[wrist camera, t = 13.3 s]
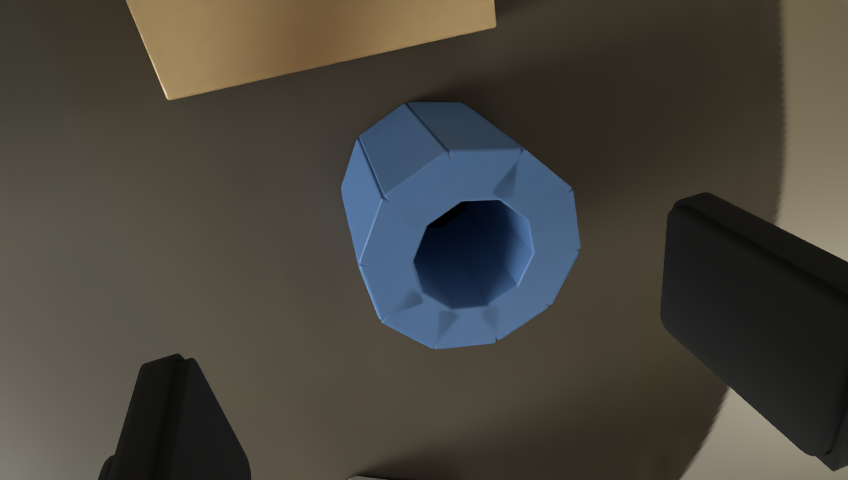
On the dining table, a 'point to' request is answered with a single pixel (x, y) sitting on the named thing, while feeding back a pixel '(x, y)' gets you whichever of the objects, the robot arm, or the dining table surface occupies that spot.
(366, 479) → the coffee box
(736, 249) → the robot arm
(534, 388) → the dining table surface
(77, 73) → the dining table surface
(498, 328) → the spool
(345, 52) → the dowel stand
